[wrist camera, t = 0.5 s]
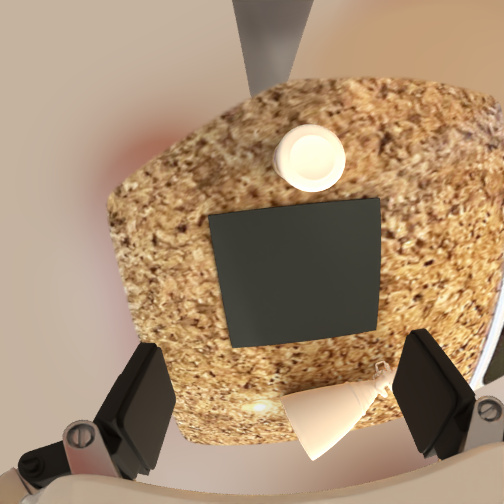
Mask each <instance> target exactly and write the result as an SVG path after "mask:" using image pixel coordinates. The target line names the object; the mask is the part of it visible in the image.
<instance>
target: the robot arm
mask: <svg viewBox="0 0 504 504" xmlns="http://www.w3.org/2000/svg"><path fill="white" fill-rule="evenodd" d="M392 391H393V394H394V396H395V398H396V400H397V403H398V405H399V407H400V409H401V411H402V414H403V416H404V418H405V420H406V423H407V425H408V427H409V430H410V432H411V434H412V437H413V439H414V442H415V444H416V446H417V449H418V451H419V452H420V453H423V455H424V458H429V457H431V456H434V455H437V456H438V458H439V459H438V462H437V463H434V464H431V465H428V466H425V467H422V468H419V469H417V470H413V471H410V472H407V473H404V474H400V475H397V476H393V477H390V478H386V479H383V480H378V481H374V482H369V483H365V484H360V485H355V486H351V487H344V488H338V489H332V490H325V491H317V492H307V493H296V494H280V495H234V494H217V493H205V492H196V491H188V490H181V489H174V488H167V487H161V486H156V485H151V484H146V483H141V482H136V480H135V478H136V477H137V474H138V473H139V474H143V475H149V472H150V469H152V470H153V469H154V468H155V466H156V463H157V460H158V457H159V453H160V450H161V447H162V444H163V441H164V437H165V434H166V431H167V428H168V425H169V421H170V418H171V415H172V412H173V409H174V406H175V403H176V396H175V393H174V390H173V386H172V383H171V380H170V377H169V374H168V370H167V367H166V364H165V360H164V357H163V353H162V350H161V348H160V347H157V345H156V344H155V343H144V342H141V343H140V344H139V345H138V347H137V349H136V350H135V352H134V353H133V355H132V357H131V358H130V360H129V362H128V364H127V365H126V367H125V369H124V370H123V372H122V374H120V375H119V376H118V378H117V380H116V382H115V383H114V385H113V387H112V388H111V390H110V392H109V394H108V395H107V397H106V399H105V401H104V402H103V404H102V406H101V408H100V410H99V411H98V413H97V415H96V417H95V419H94V420H93V422H91V421H88V420H78V421H75V422H73V423H71V424H70V425H68V426H67V428H66V429H65V430H64V433H63V440H62V441H60V442H57V443H54V444H51V445H48V446H45V447H42V448H38V449H35V450H32V451H29V452H27V453H25V454H24V455H23V456H21V458H20V460H19V462H18V469H15V468H11V469H10V470H8V471H7V472H5V473H4V474H2V475H1V476H0V504H504V405H503V404H502V403H501V401H500V400H498V399H497V398H495V397H493V396H483V397H481V398H479V399H478V400H476V399H475V393H474V392H473V390H472V389H471V387H470V386H469V385H468V383H467V382H466V380H465V379H464V378H463V376H462V375H461V374H460V372H459V371H458V369H457V368H456V367H455V365H454V364H453V363H452V361H451V360H450V359H449V357H448V356H447V355H446V354H445V352H444V351H443V350H442V348H441V347H440V346H439V345H438V343H437V342H436V341H435V340H434V338H433V337H432V336H431V335H430V333H429V332H428V331H427V330H426V329H424V328H423V329H417V330H412V331H411V332H410V334H409V335H407V337H406V340H405V343H404V347H403V351H402V354H401V358H400V361H399V364H398V368H397V371H396V374H395V377H394V380H393V383H392Z"/></svg>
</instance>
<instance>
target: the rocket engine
mask: <svg viewBox="0 0 504 504" xmlns="http://www.w3.org/2000/svg"><path fill="white" fill-rule="evenodd" d="M380 363H384V365H385V366H384V367H386V370H387V371H386V370H384V369H382V370H381V371H379V369H378V366H377V364H380ZM388 365H389V363H388V364H387V363H386V362H385V361H380V362H377V363H376V364H375V368H376V371H377V373H376V374H375V375H373V379H374V380H370V381H368V380H366V381H359V382H354V381H353V382H351V383H349V382H347V381H346V382H345V383H344V384H338V385H332V386H326V387H320V388H315V389H310V390H305V391H301V392H296V393H292V394H288V395H285V396H281V397H280V398H281V402H282V405H283V408H284V410H285V412H286V415H287V417H288V419H289V421H290V423H291V426H292V428H293V430H294V432H295V433H296V435H297V437H298V439H299V441H300V443H301V444H302V446H303V448H304V449H305V451H306V452H307V454H308V455H309V457H310V458H311V459H312V460H315V459H316V458H318V457H319V456H320V455H322V454H323V453H325V452H326V451H327V450H328V449H330V448H331V447H332V446H333V445H334V444H336V443H337V442H338V441H339V440H340V439H341V438H342V437H343V436H344V435H345V434H346V433H347V432H348V431H349V430H350V429H351V428H352V427H353V426H354V425H355V424H356V423H357V421H358V420H359V419H360V418H361V417H362V415H365V414H366V410H367V409H369V406H370V405H371V403H373V401H374V399H375V397H377V394H381V396H383V397H385V398H386V397H387V396H388V394H387V392H386V391H385V389H384V387H386V386H388V385H389V384H390V383H391V385H389V386H388V387H389V389H390V390H391V392H393V391H392V382H393V380H394V377H395V374H396V371H397V367H396V368H395V369H396V370H393V371H392V372H391V370H390V366H388ZM393 369H394V368H393ZM380 372H381V373H382V372H383V374H382V375H381V373H380ZM374 376H375V377H376V376H377V377H378V378H377V379H376V380H375V378H374Z"/></svg>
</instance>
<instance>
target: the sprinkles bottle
mask: <svg viewBox="0 0 504 504" xmlns="http://www.w3.org/2000/svg"><path fill="white" fill-rule="evenodd" d="M271 162H272V166H273V169H274V170H275V172H276V173H277V174H278V175H279V176H280V177H282V178H284V179H285V180H286V181H287V182H288V183H289V184H291V185H292V186H294V187H296V188H298V189H300V190H303V191H308V192H317V191H322V190H325V189H327V188H329V187H331V186H332V185H333V184H335V183H336V182H337V180H338V179H339V178H340V176H341V175H342V173H343V170H344V167H345V152H344V148H343V146H342V144H341V142H340V140H339V139H338V137H337V136H336V135H335V134H334V133H333V132H331V131H330V130H328V129H327V128H325V127H322V126H319V125H314V124H306V125H301V126H298V127H296V128H294V129H292V130H291V131H289V132H288V133H287V134H286V135H285V136H284V137H283V138H282V140H281V141H280V143H279V144H278V145H277V146H276V147H275V149H274V151H273V153H272V157H271Z"/></svg>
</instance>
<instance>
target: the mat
mask: <svg viewBox="0 0 504 504" xmlns="http://www.w3.org/2000/svg"><path fill="white" fill-rule="evenodd" d="M208 219H209V225H210V231H211V237H212V243H213V249H214V254H215V260H216V266H217V271H218V277H219V282H220V288H221V293H222V299H223V304H224V309H225V314H226V319H227V324H228V329H229V334H230V339H231V344H232V348H241V347H254V346H266V345H276V344H286V343H295V342H303V341H311V340H318V339H325V338H332V337H339V336H345V335H351V334H357V333H363V332H368V331H374V330H376V326H377V316H378V303H379V288H380V265H381V213H380V198H369V199H356V200H343V201H332V202H321V203H310V204H300V205H290V206H281V207H272V208H263V209H255V210H246V211H238V212H230V213H223V214H215V215H209V216H208Z"/></svg>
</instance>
